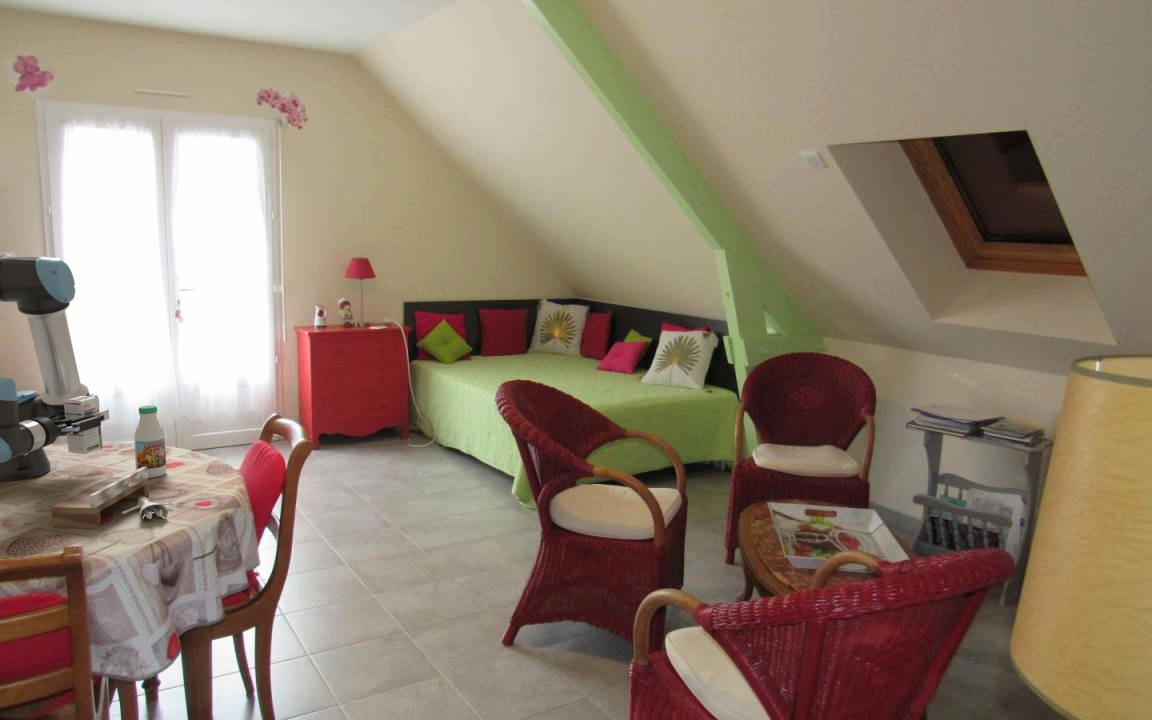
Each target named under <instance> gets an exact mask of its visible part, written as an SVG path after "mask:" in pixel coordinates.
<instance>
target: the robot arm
mask: <svg viewBox="0 0 1152 720" xmlns="http://www.w3.org/2000/svg"><path fill="white" fill-rule="evenodd" d="M75 285H76V283H75V278H74V275H73V272H72V269H71V267H70V265H68V264H67V262H65V261H64V260H62V259H60V258H58V257H47V256H39V257H38V256H33V257H32V256H0V303H4V302H5V303H16V305H17V309H18V311H19V313H20V314H22V315H24V316H26V317H27V322H28V327H29V329H30V334H31V338H32V342H33V347H34V350H35V354H36V358H37V362H38V367H39V370H40V371H39V372H40V375H41V378H42V383H43V387H44V390H43V391H42V392H41V393H40V395H39V393H38V391H37V390H21V391H17V387H16V382H15V381H14V380H13V378H10V377H2V376H1V377H0V480H1V481H2V482H3V481H4V482H5V481H6V480H10V481H17V480H18V479H20V480H26V478H27V479H31V477H32V478H36V477H40V476H42V474H43V475H45V473H46V472H48V471H49V472H51V470H52V469H51V468H52V467H51V461H50V460H49V457H48V455H47V453H46V450H45V449H44V448H45V447H48V446H51V445H52V444H54V442H56V440H57V438H58V437H67V433H71V432H72V433H73V434H75V435H76V434H79V433H80V432H83V431H86V430H89V429H92V428H96V427H98V426H102V422H105V421H107V420H110V409H107V408H106V409H102V410H99V412H96V413H93V414H90V416H88V417H83V418H78V419H74V420H70V419H65V409H64V400H68V399H72V398H76V397H79V396H93V397H98V395H97V394H93V393H91V394H90V391H89V388H88V386H87V385H86V384H84V383H82V382H81V379H80V375H79V374H80V373H79V369H78V365H77V361H76V357H75V352H74V348H73V342H72V337H71V334H70V329H69V324H68V319H67V315H66V310H67V309H68V308H69V307H70V303H71V302H72V301H73V300H74V298H75V295H76V288H75ZM98 402H99V403H100V399H99V397H98ZM50 469H51V470H50ZM49 472H48V473H49ZM46 474H47V473H46ZM39 475H40V476H39ZM1 481H0V482H1ZM18 481H19V480H18ZM6 482H7V481H6Z"/></svg>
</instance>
